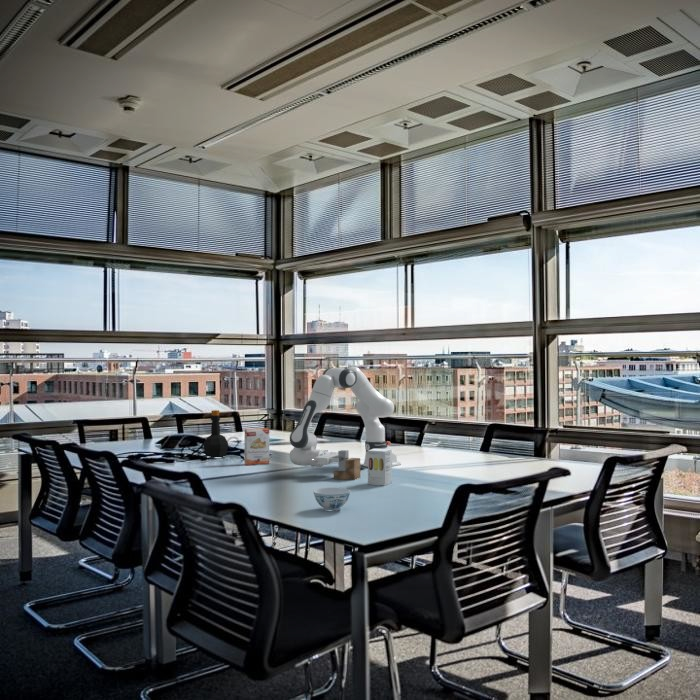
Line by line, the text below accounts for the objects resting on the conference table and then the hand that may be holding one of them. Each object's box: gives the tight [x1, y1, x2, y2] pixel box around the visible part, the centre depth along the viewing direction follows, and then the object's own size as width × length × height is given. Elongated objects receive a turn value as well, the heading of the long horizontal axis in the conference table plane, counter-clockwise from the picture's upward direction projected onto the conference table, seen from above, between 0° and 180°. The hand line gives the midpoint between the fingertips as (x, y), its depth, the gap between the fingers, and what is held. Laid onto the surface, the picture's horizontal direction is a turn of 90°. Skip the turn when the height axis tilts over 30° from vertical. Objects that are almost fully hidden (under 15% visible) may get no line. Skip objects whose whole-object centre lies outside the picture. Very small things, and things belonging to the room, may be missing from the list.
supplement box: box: [367, 448, 393, 487], centre depth 350 cm, size 10×9×17 cm
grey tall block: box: [337, 449, 350, 472], centre depth 369 cm, size 4×4×14 cm
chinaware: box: [313, 486, 351, 511], centre depth 291 cm, size 15×15×8 cm
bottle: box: [203, 409, 229, 457], centre depth 453 cm, size 16×16×30 cm
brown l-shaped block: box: [333, 457, 361, 481], centre depth 368 cm, size 12×8×10 cm
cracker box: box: [244, 428, 270, 466], centre depth 422 cm, size 14×6×21 cm, turn 112°
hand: (342, 459), depth 369 cm, fingers open, 8 cm apart
